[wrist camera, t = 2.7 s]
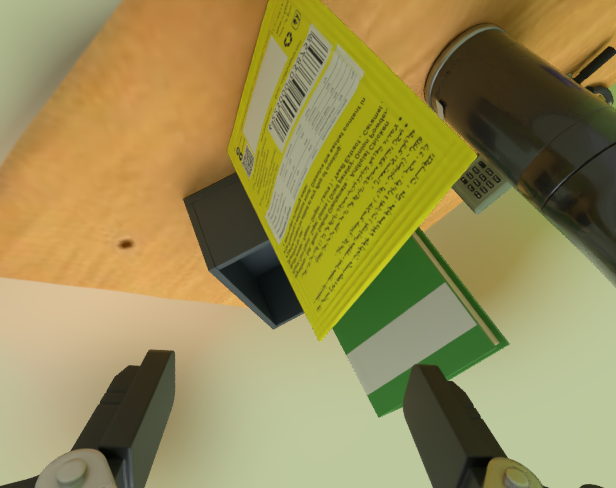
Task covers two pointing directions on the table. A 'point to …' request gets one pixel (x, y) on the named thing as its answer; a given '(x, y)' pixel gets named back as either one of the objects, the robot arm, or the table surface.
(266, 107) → the food package
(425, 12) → the table surface
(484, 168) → the grey-green rectangular bar
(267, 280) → the waste bin
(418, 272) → the hardback book
